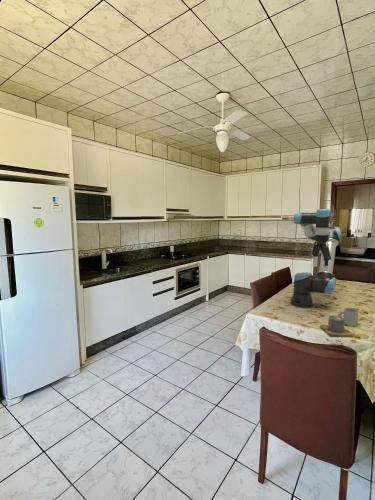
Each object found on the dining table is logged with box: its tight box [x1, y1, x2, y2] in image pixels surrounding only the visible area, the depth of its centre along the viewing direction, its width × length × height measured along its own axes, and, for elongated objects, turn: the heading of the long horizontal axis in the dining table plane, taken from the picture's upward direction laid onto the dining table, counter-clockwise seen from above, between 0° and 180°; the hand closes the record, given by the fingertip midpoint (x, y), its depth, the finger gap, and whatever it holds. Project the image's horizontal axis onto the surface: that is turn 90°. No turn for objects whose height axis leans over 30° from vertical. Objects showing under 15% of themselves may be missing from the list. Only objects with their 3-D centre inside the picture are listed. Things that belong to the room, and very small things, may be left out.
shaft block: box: [319, 324, 354, 338], centre depth 144 cm, size 12×12×6 cm
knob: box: [327, 315, 346, 333], centre depth 143 cm, size 7×7×8 cm
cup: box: [337, 307, 359, 328], centre depth 154 cm, size 7×10×9 cm
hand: (319, 268), depth 161 cm, fingers open, 13 cm apart
